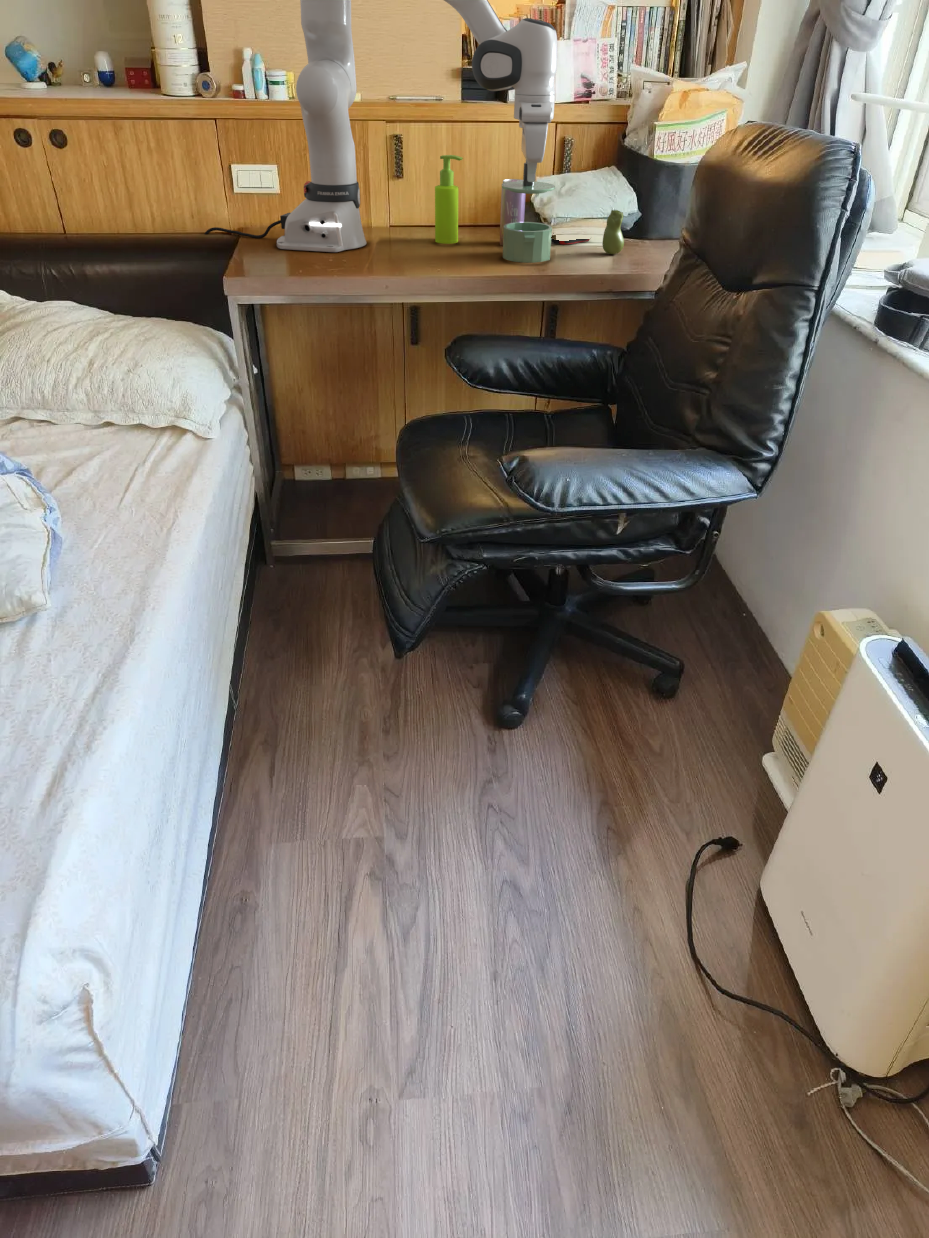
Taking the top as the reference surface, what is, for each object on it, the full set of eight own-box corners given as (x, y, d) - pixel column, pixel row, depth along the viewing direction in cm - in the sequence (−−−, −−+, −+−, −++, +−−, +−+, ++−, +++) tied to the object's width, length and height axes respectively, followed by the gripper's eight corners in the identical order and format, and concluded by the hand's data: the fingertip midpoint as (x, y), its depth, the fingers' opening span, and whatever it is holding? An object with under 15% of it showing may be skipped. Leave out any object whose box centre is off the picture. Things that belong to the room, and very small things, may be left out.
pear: (602, 251, 208) (607, 207, 202) (623, 252, 207) (629, 208, 201) (600, 255, 204) (604, 211, 198) (621, 257, 203) (626, 212, 197)
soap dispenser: (457, 247, 209) (458, 157, 198) (431, 244, 211) (431, 156, 199) (464, 242, 214) (466, 154, 202) (439, 240, 216) (439, 153, 204)
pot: (503, 267, 193) (505, 233, 189) (501, 251, 206) (502, 219, 202) (552, 268, 193) (554, 234, 189) (546, 252, 207) (548, 220, 202)
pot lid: (502, 194, 186) (503, 166, 183) (500, 185, 196) (501, 159, 193) (557, 195, 186) (559, 167, 183) (552, 186, 196) (554, 160, 193)
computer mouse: (593, 241, 217) (595, 225, 215) (560, 246, 212) (562, 229, 210) (578, 237, 221) (580, 221, 219) (546, 241, 217) (547, 224, 214)
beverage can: (523, 244, 213) (526, 179, 204) (522, 249, 208) (525, 183, 200) (500, 243, 214) (502, 178, 205) (498, 248, 209) (501, 182, 200)
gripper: (517, 105, 190) (514, 173, 198) (522, 113, 173) (519, 187, 181) (544, 106, 190) (540, 173, 198) (552, 114, 173) (547, 187, 182)
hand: (530, 180), depth 190 cm, fingers closed on pot lid, 2 cm apart
